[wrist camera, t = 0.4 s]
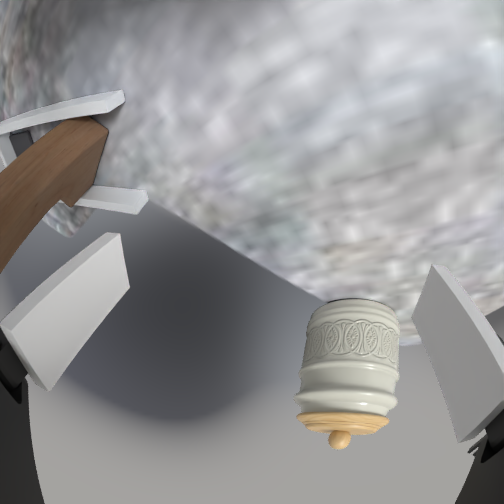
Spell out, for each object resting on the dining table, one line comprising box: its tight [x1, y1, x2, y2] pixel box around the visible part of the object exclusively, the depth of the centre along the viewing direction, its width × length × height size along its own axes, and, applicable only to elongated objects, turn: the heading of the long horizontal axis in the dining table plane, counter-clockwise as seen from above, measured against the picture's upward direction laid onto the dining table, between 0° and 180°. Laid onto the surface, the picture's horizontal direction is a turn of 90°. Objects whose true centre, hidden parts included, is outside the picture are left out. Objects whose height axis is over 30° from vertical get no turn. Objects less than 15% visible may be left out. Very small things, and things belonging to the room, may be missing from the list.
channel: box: [0, 90, 149, 215], centre depth 24 cm, size 12×25×2 cm, turn 89°
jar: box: [294, 299, 400, 449], centre depth 30 cm, size 13×13×18 cm
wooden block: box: [0, 115, 108, 273], centre depth 18 cm, size 9×4×18 cm, turn 143°
